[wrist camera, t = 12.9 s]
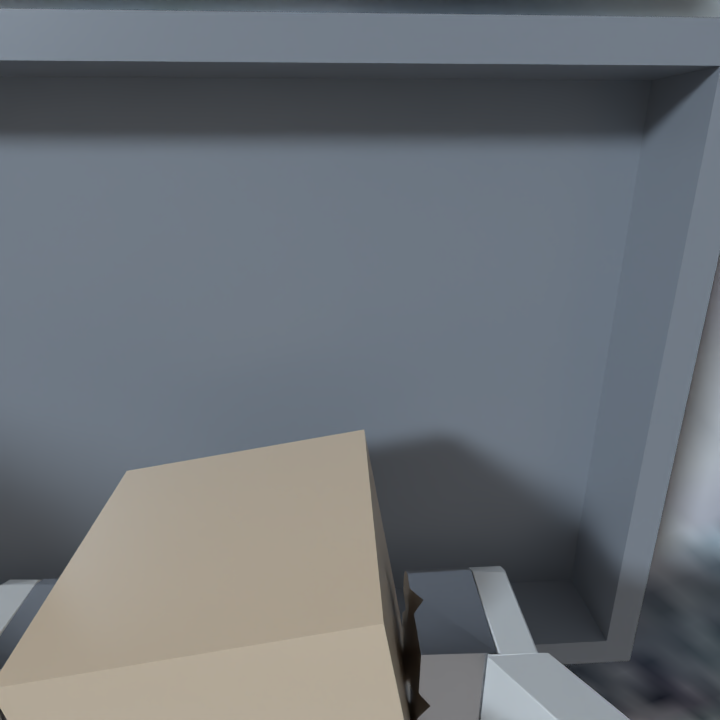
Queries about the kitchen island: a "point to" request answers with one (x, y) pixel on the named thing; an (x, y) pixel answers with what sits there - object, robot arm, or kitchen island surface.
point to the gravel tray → (364, 275)
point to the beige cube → (224, 598)
